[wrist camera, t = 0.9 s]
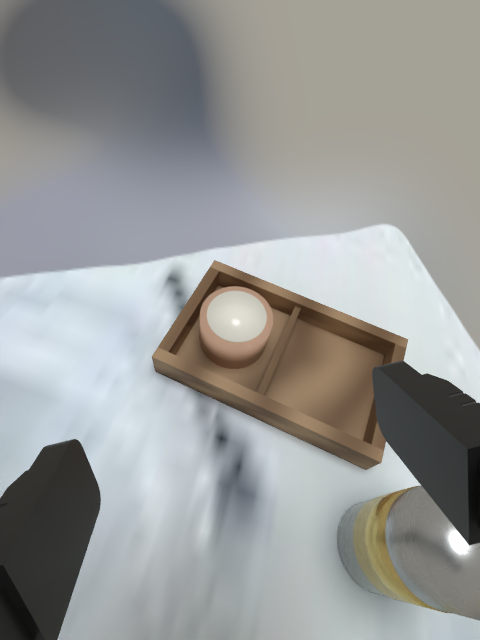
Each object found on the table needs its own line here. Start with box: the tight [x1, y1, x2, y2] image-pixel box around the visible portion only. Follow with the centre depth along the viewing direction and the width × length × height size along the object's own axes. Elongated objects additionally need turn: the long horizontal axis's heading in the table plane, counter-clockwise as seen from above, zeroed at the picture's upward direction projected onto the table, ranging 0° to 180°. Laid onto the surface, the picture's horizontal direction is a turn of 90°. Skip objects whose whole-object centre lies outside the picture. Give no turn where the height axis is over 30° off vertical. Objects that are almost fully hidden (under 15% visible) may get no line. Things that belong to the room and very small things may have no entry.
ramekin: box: [200, 286, 273, 369], centre depth 34 cm, size 6×6×4 cm
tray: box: [152, 260, 408, 469], centre depth 34 cm, size 20×12×3 cm, turn 66°
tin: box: [337, 486, 480, 620], centre depth 23 cm, size 6×6×12 cm
